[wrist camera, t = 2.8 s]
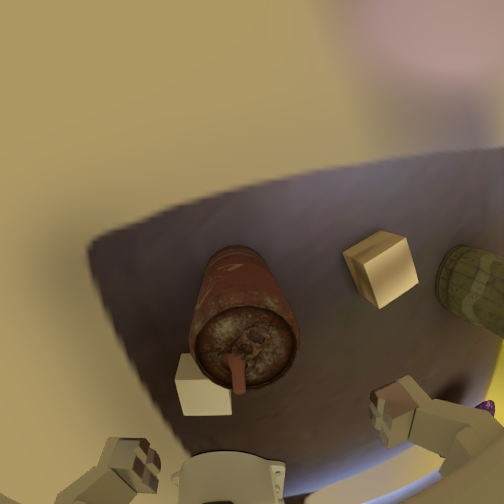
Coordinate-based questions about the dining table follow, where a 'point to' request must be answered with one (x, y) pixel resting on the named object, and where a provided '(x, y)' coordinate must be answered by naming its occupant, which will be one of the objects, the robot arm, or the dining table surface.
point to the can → (242, 323)
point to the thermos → (473, 287)
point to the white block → (200, 391)
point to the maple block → (381, 267)
